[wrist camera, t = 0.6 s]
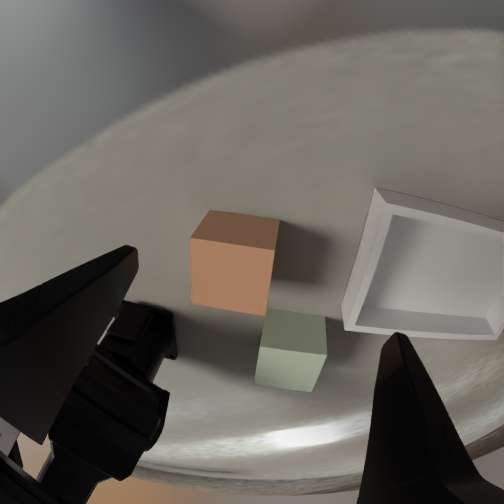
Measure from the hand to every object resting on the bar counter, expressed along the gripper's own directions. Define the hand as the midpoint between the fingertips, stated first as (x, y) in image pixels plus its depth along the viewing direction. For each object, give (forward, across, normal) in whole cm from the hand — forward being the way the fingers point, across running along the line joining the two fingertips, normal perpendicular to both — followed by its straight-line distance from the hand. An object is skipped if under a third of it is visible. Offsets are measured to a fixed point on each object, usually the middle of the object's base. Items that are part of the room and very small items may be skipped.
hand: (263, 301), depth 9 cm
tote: (+13, -14, +4) cm, 19 cm away
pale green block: (+10, -3, +14) cm, 18 cm away
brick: (+11, +3, +7) cm, 13 cm away
